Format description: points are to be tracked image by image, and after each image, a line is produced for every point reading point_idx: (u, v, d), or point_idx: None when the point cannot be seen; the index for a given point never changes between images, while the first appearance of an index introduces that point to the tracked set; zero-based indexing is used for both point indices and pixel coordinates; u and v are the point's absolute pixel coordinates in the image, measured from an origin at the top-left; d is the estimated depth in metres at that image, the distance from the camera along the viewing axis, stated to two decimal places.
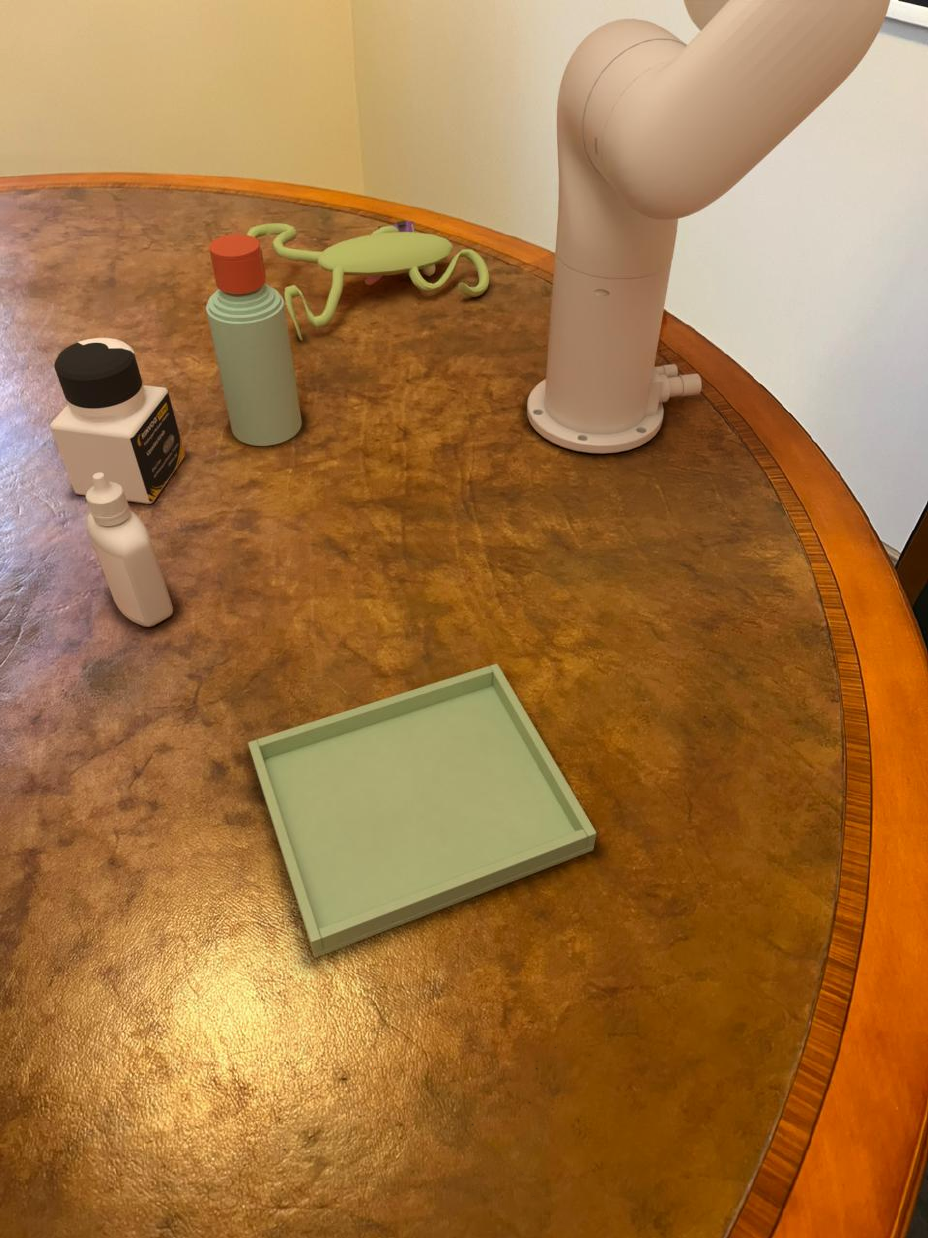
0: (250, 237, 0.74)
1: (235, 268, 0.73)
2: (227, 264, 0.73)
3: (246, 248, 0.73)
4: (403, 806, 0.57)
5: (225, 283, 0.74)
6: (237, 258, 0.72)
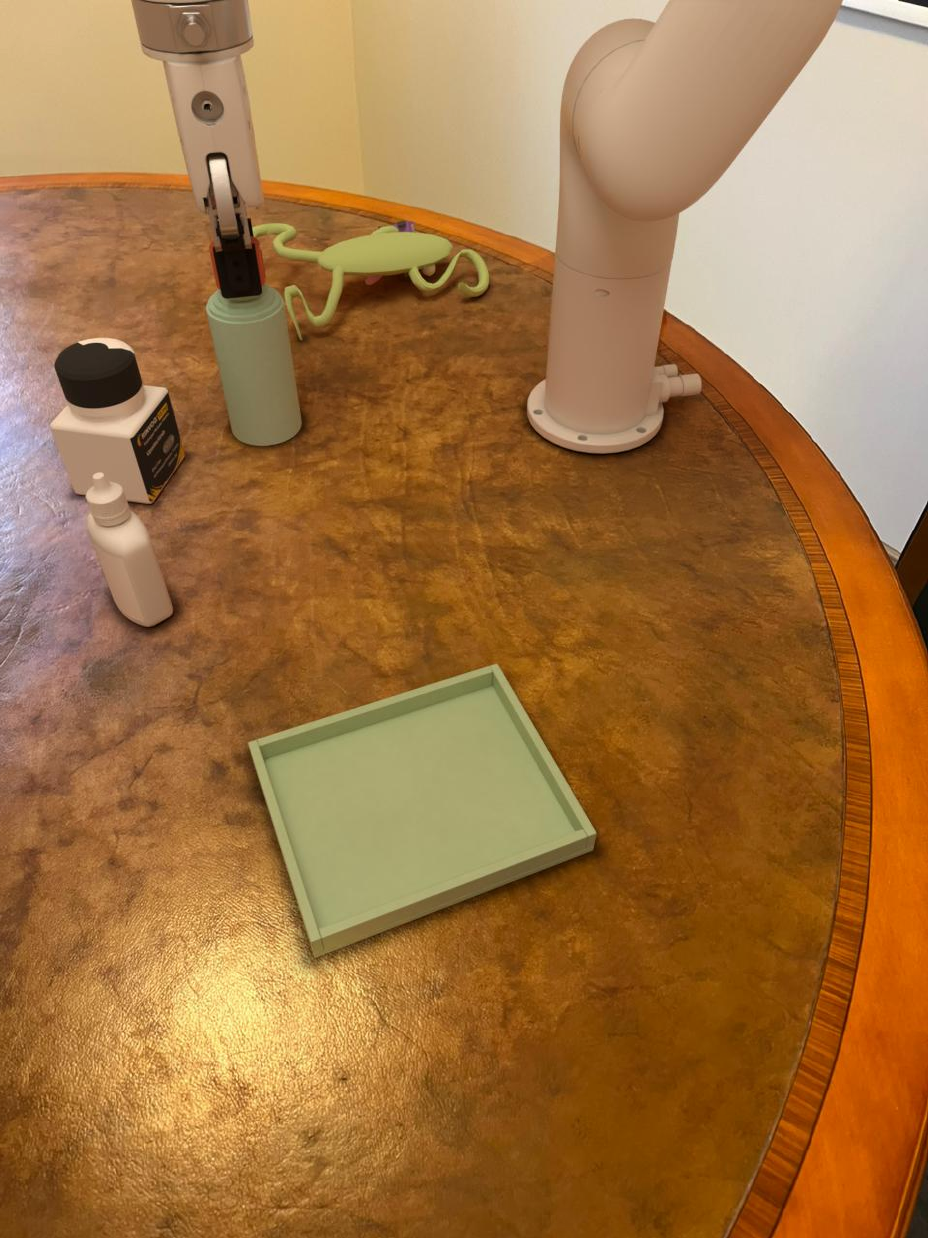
0: (250, 237, 0.74)
1: None
2: None
3: None
4: (403, 806, 0.57)
5: None
6: None
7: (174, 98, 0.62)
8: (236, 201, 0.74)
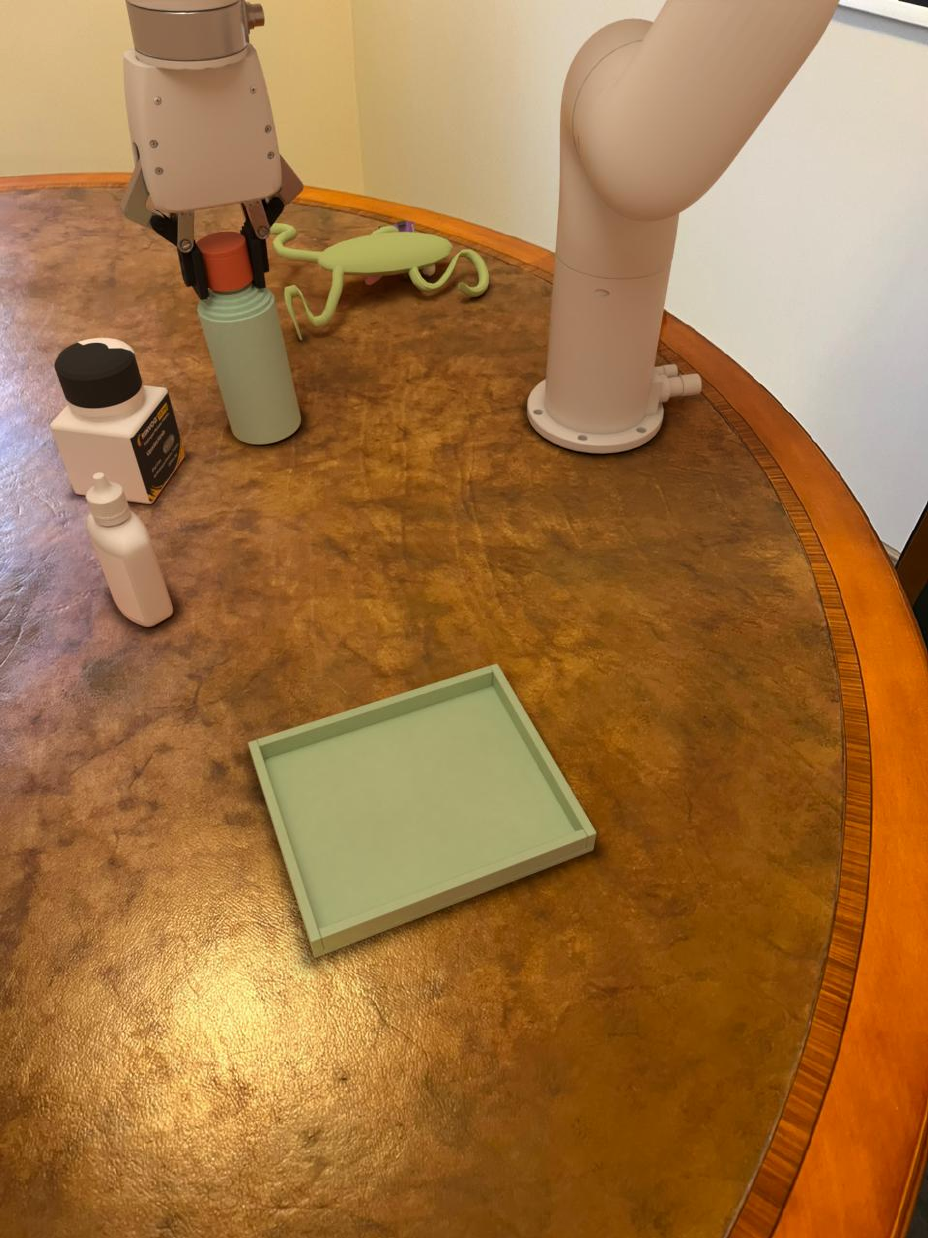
0: (202, 239, 0.74)
1: None
2: (247, 248, 0.74)
3: (227, 235, 0.74)
4: (403, 806, 0.57)
5: (250, 271, 0.75)
6: (244, 238, 0.74)
7: (260, 87, 0.65)
8: None
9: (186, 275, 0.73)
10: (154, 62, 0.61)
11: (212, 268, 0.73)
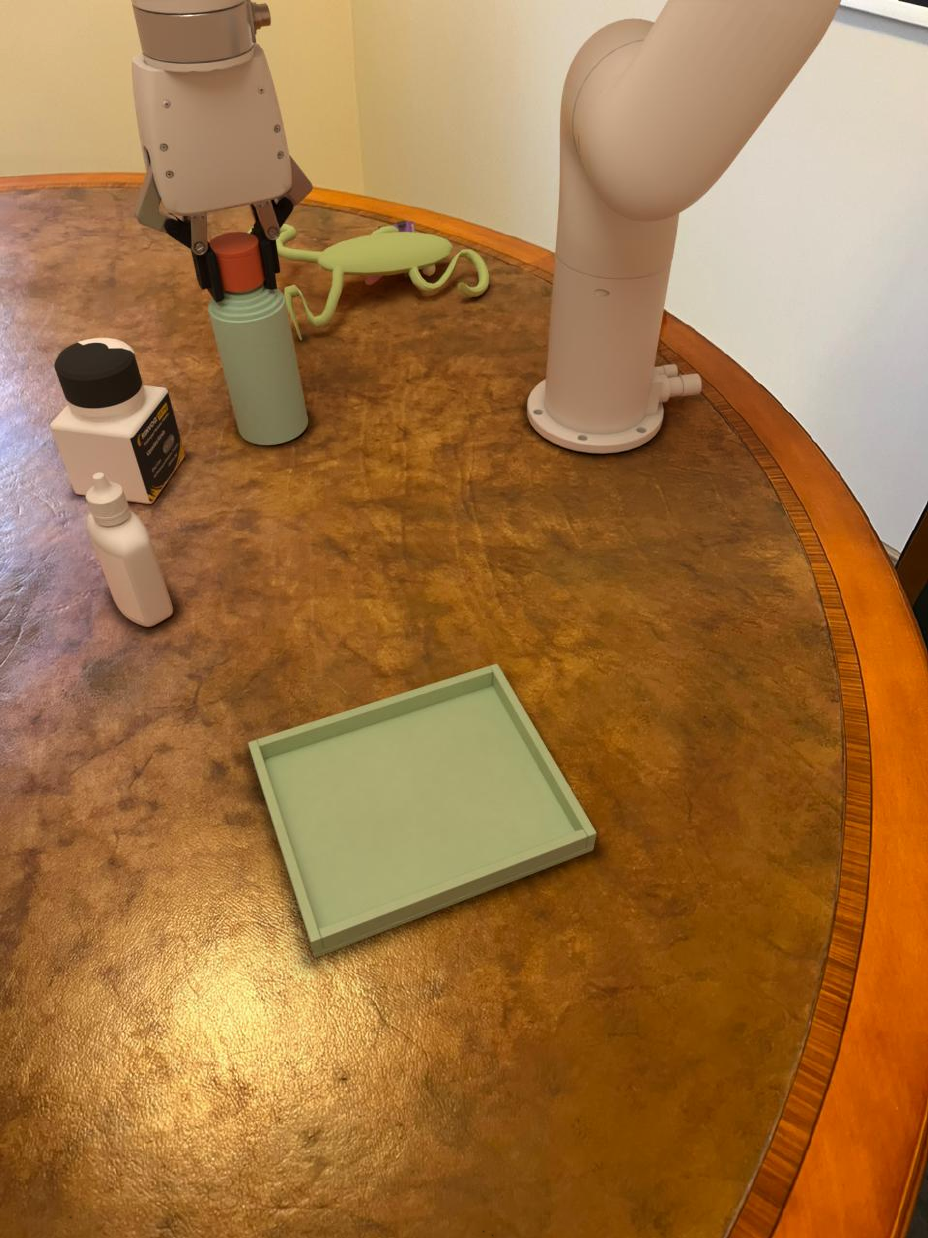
0: (215, 239, 0.74)
1: None
2: None
3: (240, 236, 0.74)
4: (403, 806, 0.57)
5: (262, 272, 0.75)
6: None
7: (268, 87, 0.65)
8: None
9: (201, 278, 0.73)
10: (162, 65, 0.61)
11: (225, 268, 0.73)
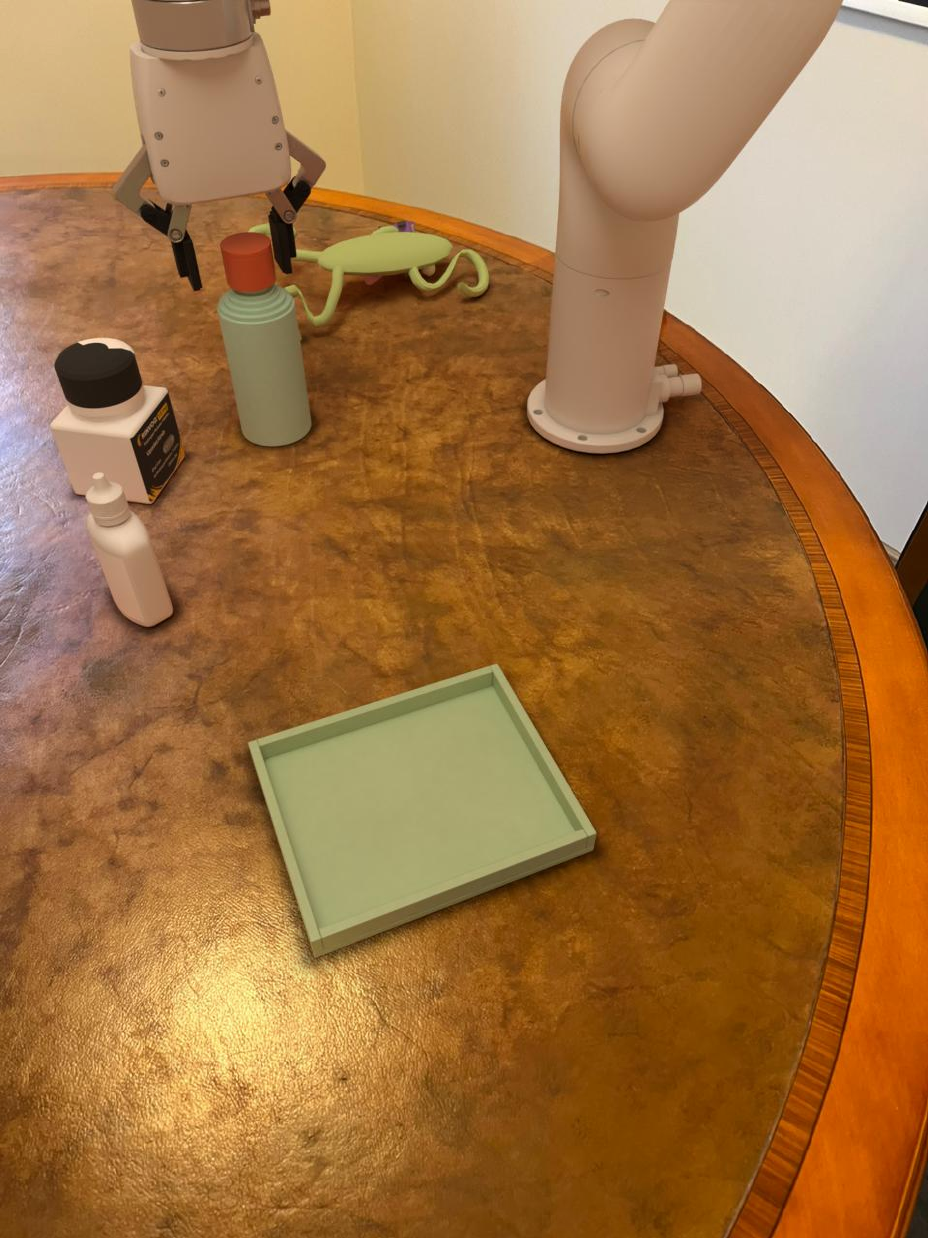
0: (239, 252, 0.72)
1: None
2: None
3: (229, 242, 0.73)
4: (403, 806, 0.57)
5: None
6: None
7: (266, 78, 0.65)
8: None
9: (178, 266, 0.72)
10: (157, 53, 0.61)
11: (272, 258, 0.74)
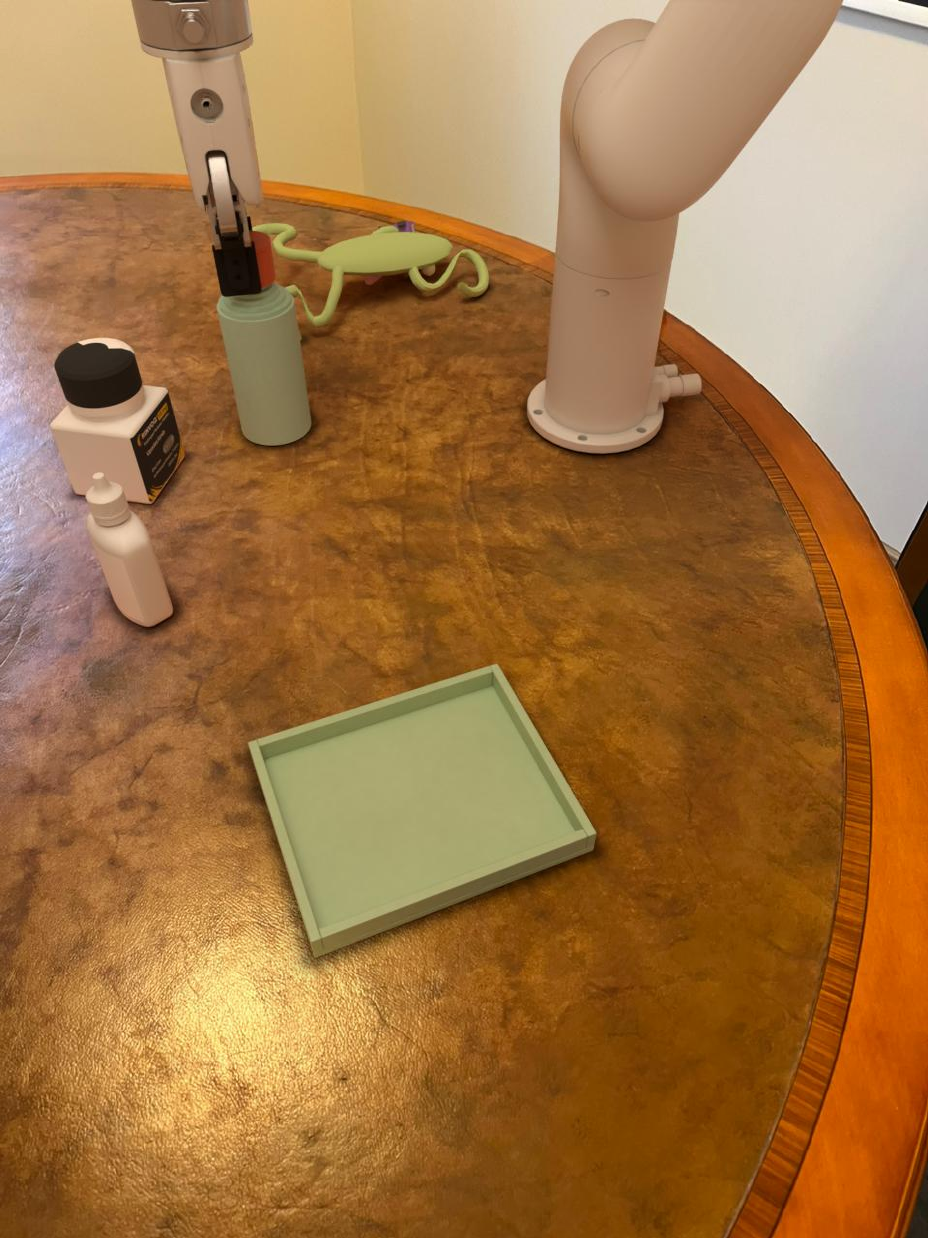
0: None
1: None
2: None
3: None
4: (403, 806, 0.57)
5: None
6: None
7: (173, 96, 0.62)
8: (236, 199, 0.74)
9: None
10: None
11: (271, 256, 0.74)
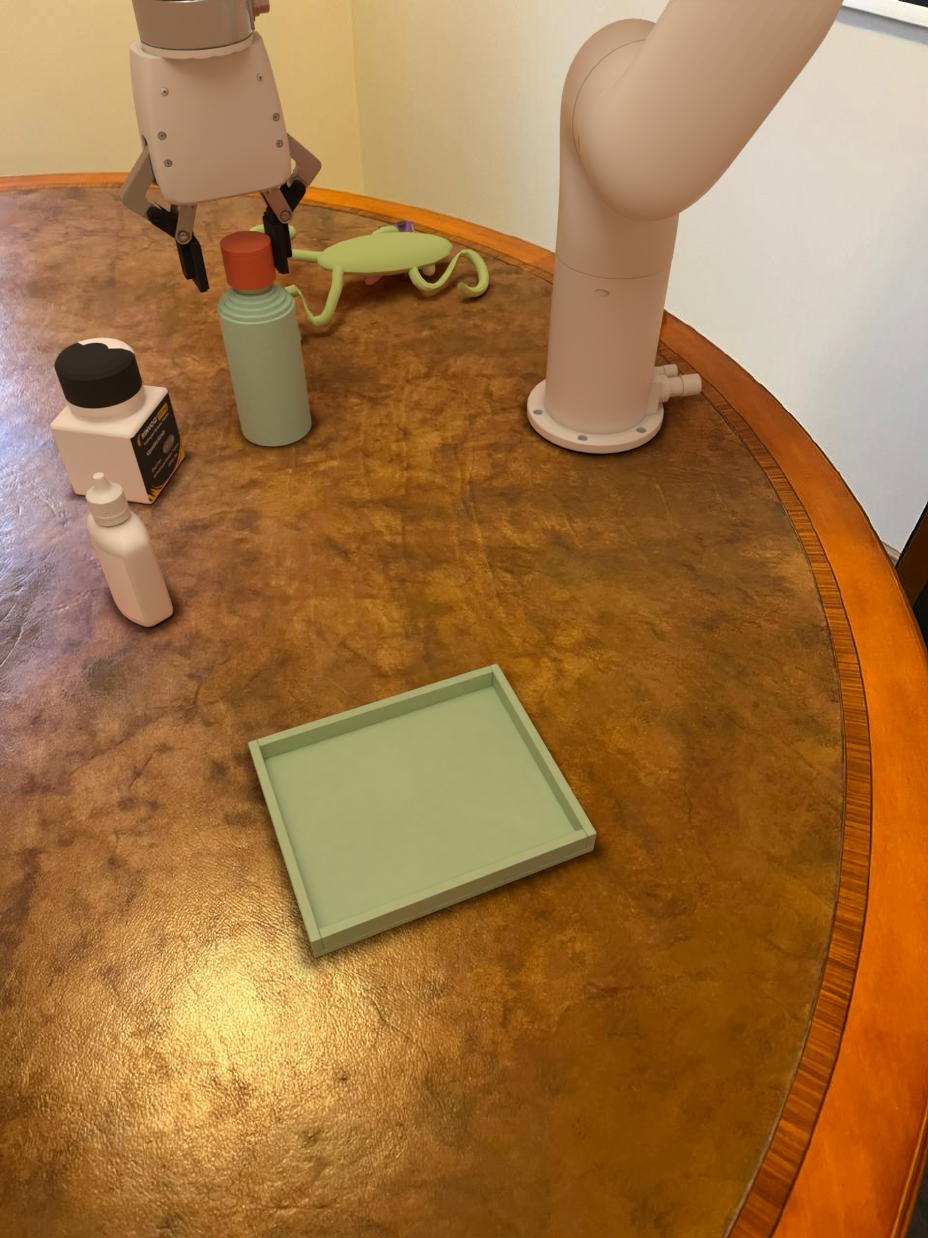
0: (266, 239, 0.73)
1: (229, 263, 0.73)
2: (224, 256, 0.73)
3: (247, 247, 0.72)
4: (403, 806, 0.57)
5: (226, 274, 0.74)
6: (230, 254, 0.72)
7: (267, 75, 0.65)
8: None
9: (185, 267, 0.72)
10: (160, 52, 0.61)
11: None
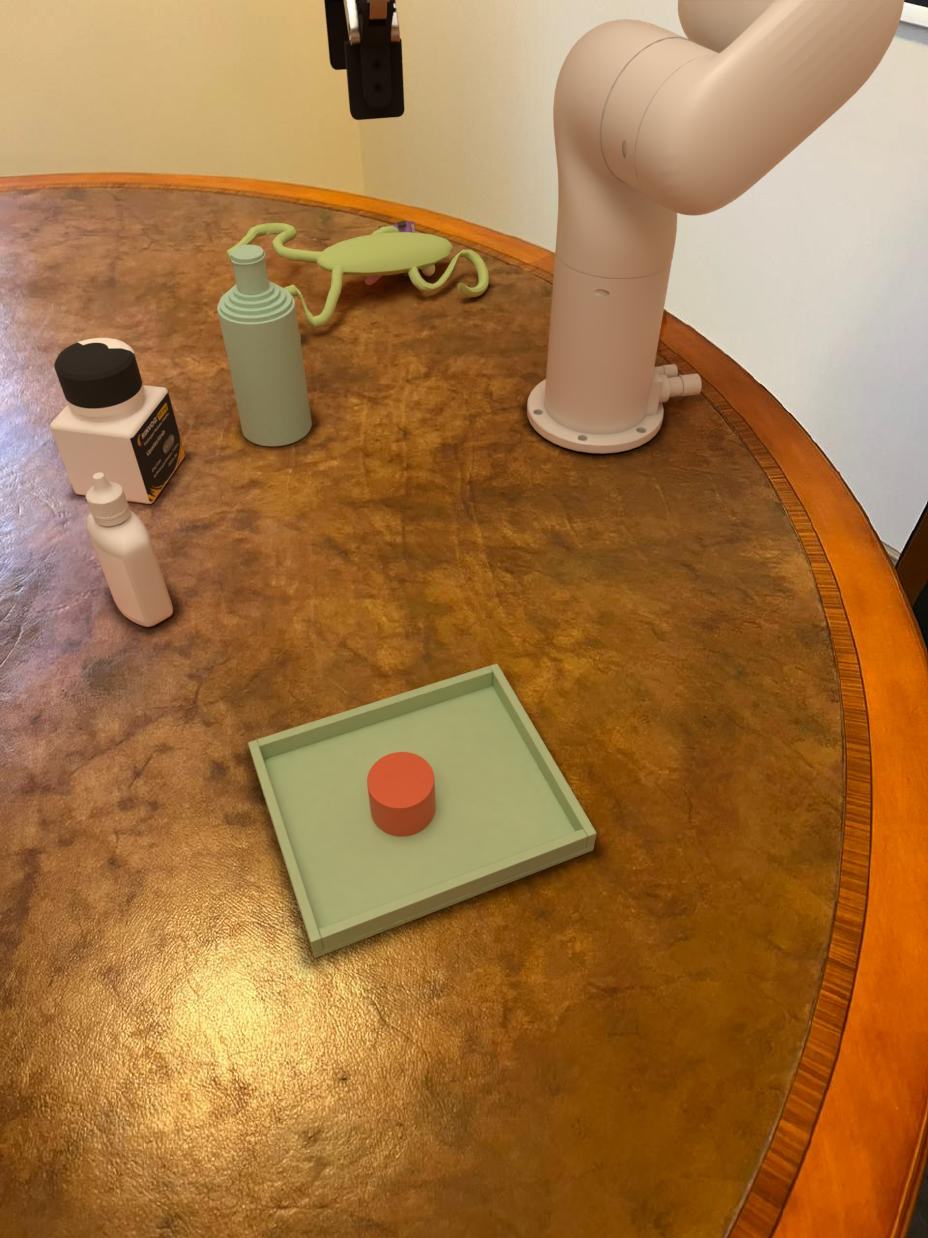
0: (371, 784, 0.54)
1: None
2: None
3: (394, 762, 0.55)
4: None
5: None
6: None
7: None
8: (359, 19, 0.51)
9: (390, 84, 0.53)
10: None
11: (410, 818, 0.54)
